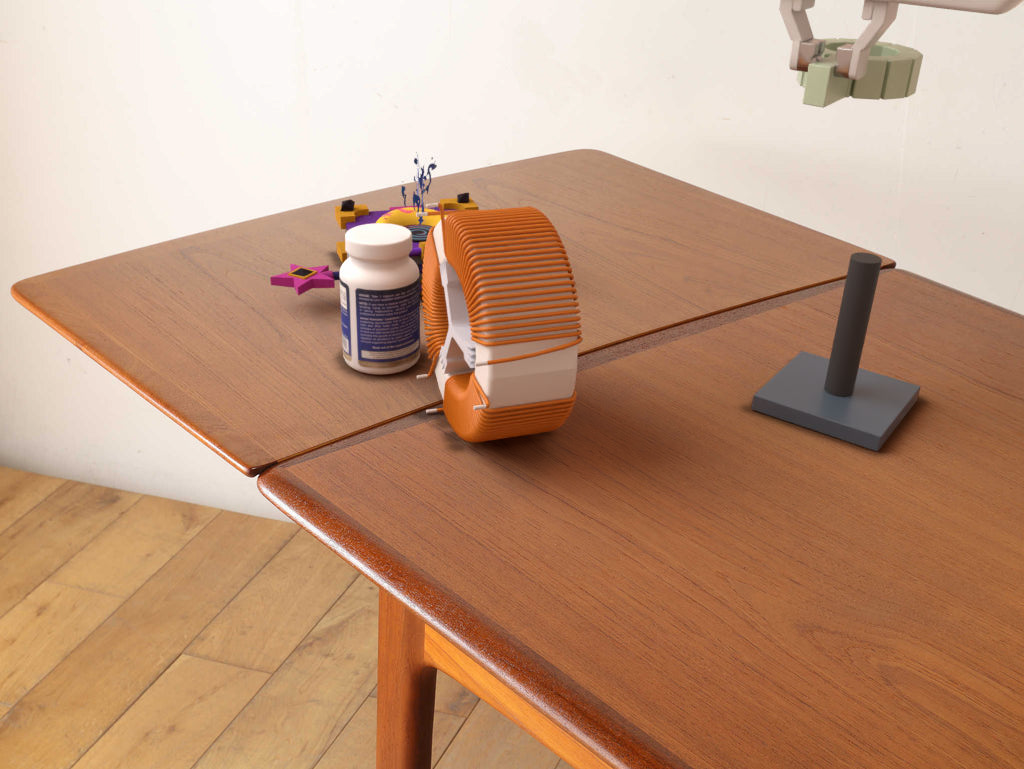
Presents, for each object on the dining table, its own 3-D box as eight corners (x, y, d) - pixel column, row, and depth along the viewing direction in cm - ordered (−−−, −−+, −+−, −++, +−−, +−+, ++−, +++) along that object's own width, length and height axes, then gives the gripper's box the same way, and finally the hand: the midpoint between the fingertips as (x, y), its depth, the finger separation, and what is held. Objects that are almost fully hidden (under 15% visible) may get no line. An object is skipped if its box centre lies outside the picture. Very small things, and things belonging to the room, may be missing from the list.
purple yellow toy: (571, 294, 91) (581, 154, 85) (276, 322, 83) (265, 171, 78) (517, 236, 103) (523, 110, 97) (256, 256, 95) (245, 121, 90)
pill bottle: (435, 355, 79) (435, 230, 75) (388, 385, 75) (385, 253, 70) (375, 336, 82) (372, 213, 77) (326, 363, 78) (320, 235, 73)
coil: (500, 370, 78) (507, 174, 70) (578, 478, 65) (597, 253, 58) (409, 382, 75) (407, 180, 68) (472, 496, 63) (478, 265, 56)
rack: (917, 400, 76) (954, 255, 71) (877, 452, 69) (914, 296, 64) (798, 364, 80) (825, 224, 75) (750, 409, 74) (776, 260, 68)
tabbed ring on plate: (928, 86, 70) (936, 49, 69) (872, 116, 62) (880, 74, 61) (821, 69, 74) (827, 34, 73) (756, 96, 66) (761, 56, 65)
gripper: (1087, -177, 55) (1017, 92, 61) (726, -188, 65) (700, 44, 71) (1063, -180, 50) (991, 112, 57) (679, -191, 60) (655, 57, 67)
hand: (826, 73), depth 64 cm, fingers closed on tabbed ring on plate, 1 cm apart
